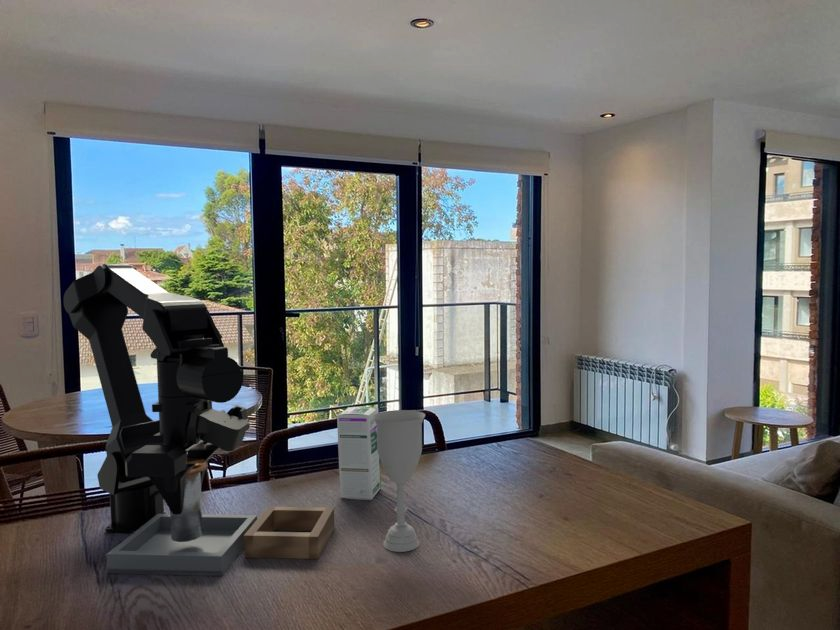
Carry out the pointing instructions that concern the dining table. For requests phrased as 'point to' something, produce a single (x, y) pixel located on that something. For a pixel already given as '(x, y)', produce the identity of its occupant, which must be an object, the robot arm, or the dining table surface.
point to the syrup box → (358, 453)
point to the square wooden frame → (289, 533)
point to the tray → (181, 547)
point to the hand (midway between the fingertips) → (185, 506)
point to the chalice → (400, 466)
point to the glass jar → (189, 506)
